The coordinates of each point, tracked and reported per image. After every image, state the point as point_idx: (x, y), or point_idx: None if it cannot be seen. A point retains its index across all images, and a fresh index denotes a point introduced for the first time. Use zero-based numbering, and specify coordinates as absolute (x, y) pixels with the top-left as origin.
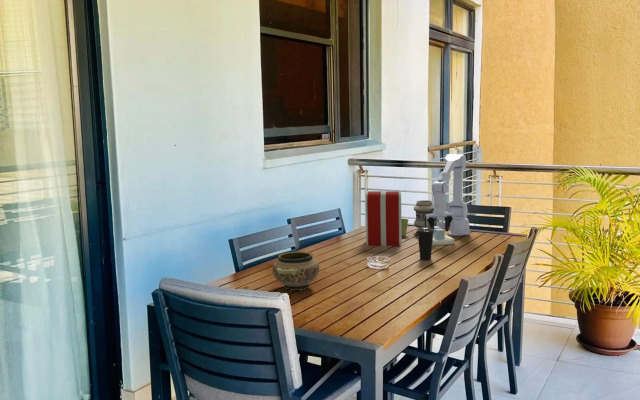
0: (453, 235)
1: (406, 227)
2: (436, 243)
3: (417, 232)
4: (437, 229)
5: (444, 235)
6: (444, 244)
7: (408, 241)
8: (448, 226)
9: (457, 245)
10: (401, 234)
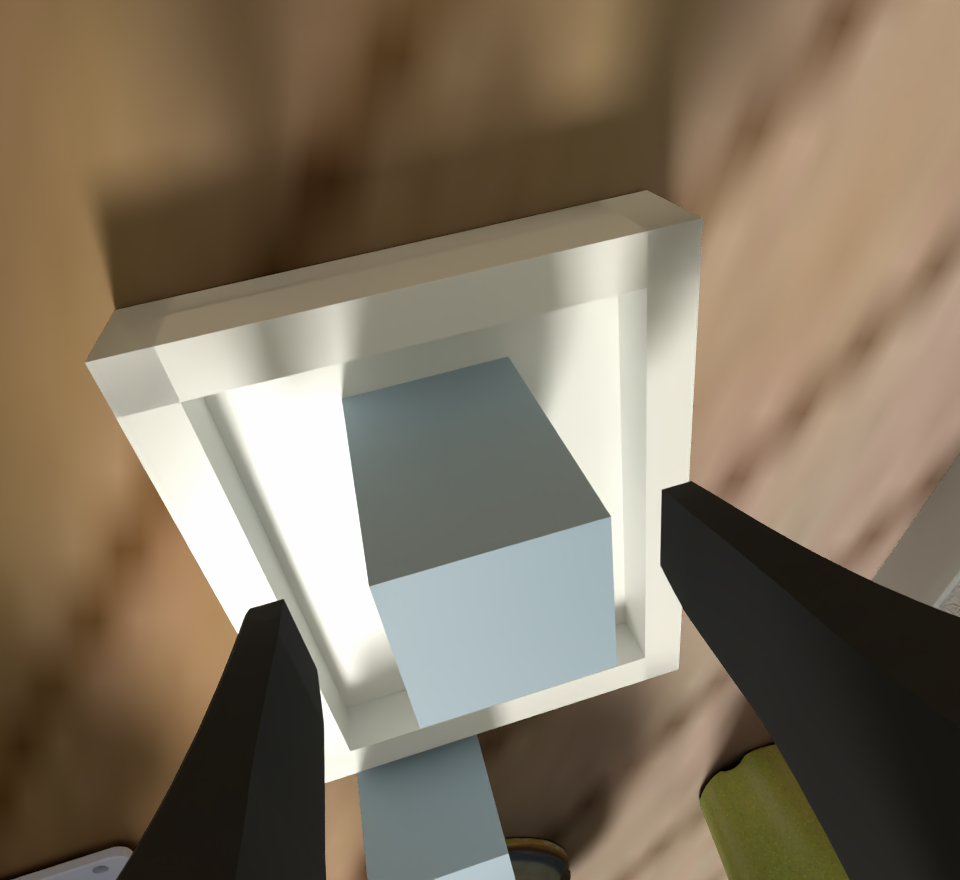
0: (128, 851)
1: (762, 872)
2: (564, 222)
3: (561, 875)
4: (559, 626)
5: (359, 475)
6: (365, 256)
7: (832, 531)
8: (227, 728)
9: (19, 116)
10: None
